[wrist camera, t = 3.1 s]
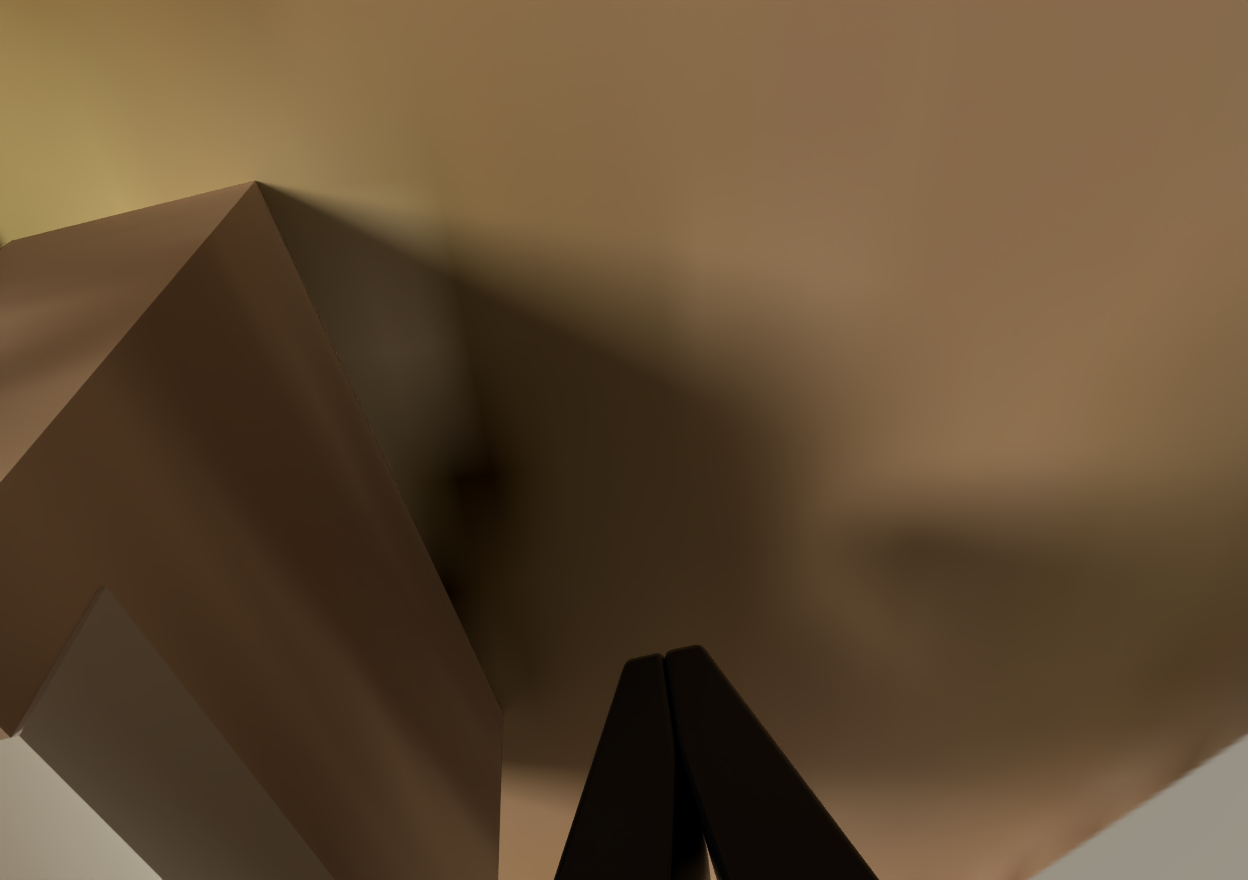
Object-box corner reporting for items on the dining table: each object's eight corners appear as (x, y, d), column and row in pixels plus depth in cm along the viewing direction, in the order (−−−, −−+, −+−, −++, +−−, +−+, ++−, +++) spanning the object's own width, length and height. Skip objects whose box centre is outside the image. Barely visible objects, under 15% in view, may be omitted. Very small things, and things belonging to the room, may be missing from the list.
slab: (261, 178, 10) (-104, 615, 4) (505, 711, 16) (492, 1208, 10) (10, 240, 10) (-672, 743, 4) (342, 746, 16) (235, 1258, 10)
